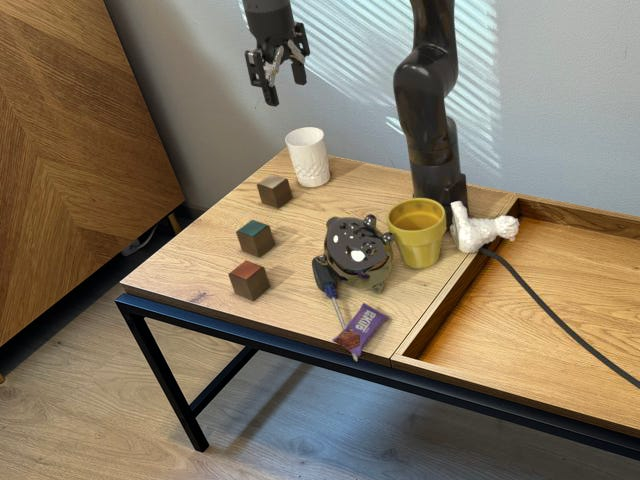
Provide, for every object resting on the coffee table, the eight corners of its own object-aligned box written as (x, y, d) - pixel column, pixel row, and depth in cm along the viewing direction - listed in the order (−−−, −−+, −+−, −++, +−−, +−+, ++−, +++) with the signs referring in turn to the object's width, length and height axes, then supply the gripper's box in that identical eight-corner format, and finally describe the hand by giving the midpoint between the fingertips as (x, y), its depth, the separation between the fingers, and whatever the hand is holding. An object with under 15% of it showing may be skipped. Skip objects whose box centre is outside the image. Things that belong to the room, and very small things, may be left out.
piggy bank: (320, 206, 132) (295, 253, 139) (383, 269, 130) (354, 313, 137) (361, 190, 140) (336, 235, 148) (421, 249, 139) (392, 291, 146)
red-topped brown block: (270, 287, 144) (264, 266, 140) (253, 301, 141) (246, 280, 138) (252, 279, 146) (245, 259, 142) (235, 293, 143) (227, 273, 140)
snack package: (365, 298, 135) (390, 313, 135) (361, 306, 136) (387, 321, 136) (333, 336, 126) (360, 352, 126) (330, 344, 127) (357, 360, 127)
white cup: (288, 184, 168) (277, 142, 161) (310, 166, 173) (300, 124, 166) (318, 192, 165) (308, 149, 158) (340, 173, 170) (331, 130, 163)
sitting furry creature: (449, 229, 152) (509, 218, 154) (459, 267, 149) (521, 255, 151) (450, 199, 144) (514, 188, 146) (461, 239, 140) (527, 227, 142)
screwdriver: (364, 365, 129) (378, 349, 128) (347, 358, 127) (361, 342, 126) (318, 273, 146) (330, 257, 145) (302, 265, 144) (315, 250, 143)
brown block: (293, 197, 165) (287, 178, 161) (278, 209, 162) (272, 189, 159) (276, 192, 166) (271, 172, 163) (261, 203, 164) (256, 183, 161)
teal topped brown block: (275, 245, 153) (269, 224, 150) (259, 257, 150) (252, 237, 147) (258, 238, 155) (252, 218, 152) (242, 251, 152) (235, 230, 149)
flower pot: (420, 283, 142) (415, 238, 135) (381, 260, 147) (374, 216, 140) (460, 255, 147) (457, 210, 140) (421, 234, 152) (416, 190, 146)
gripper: (258, 21, 124) (281, 116, 136) (309, -12, 134) (327, 80, 145) (220, 15, 127) (246, 109, 138) (273, -17, 136) (293, 74, 147)
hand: (287, 94), depth 142 cm, fingers open, 8 cm apart
